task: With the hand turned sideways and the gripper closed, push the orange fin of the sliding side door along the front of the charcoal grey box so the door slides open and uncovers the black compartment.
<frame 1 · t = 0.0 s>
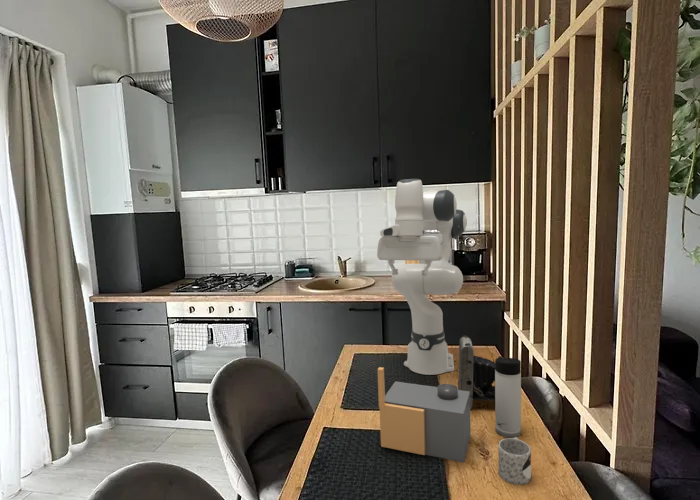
hand: (409, 275, 127), 39 cm above the table, fingers open, 8 cm apart
housing: (427, 440, 105), on the table
vintage camera: (485, 404, 123), on the table
travel mug: (508, 432, 107), on the table
mug: (514, 471, 92), on the table
side door: (401, 410, 99), point 11 cm above the table, slide at 0.0 cm
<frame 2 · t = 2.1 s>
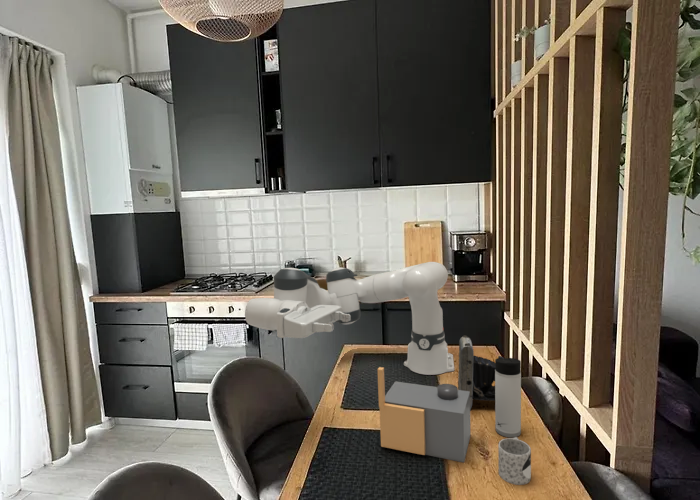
hand: (341, 322, 104), 31 cm above the table, fingers open, 8 cm apart
nothing on the table moved.
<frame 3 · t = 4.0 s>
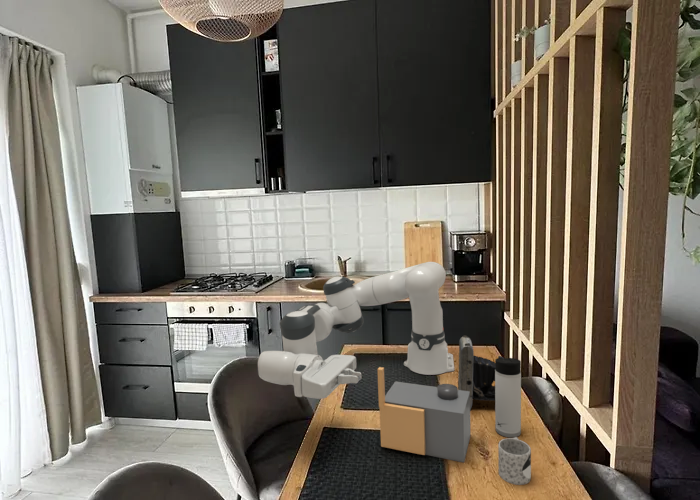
hand: (359, 378, 103), 18 cm above the table, fingers closed
nothing on the table moved.
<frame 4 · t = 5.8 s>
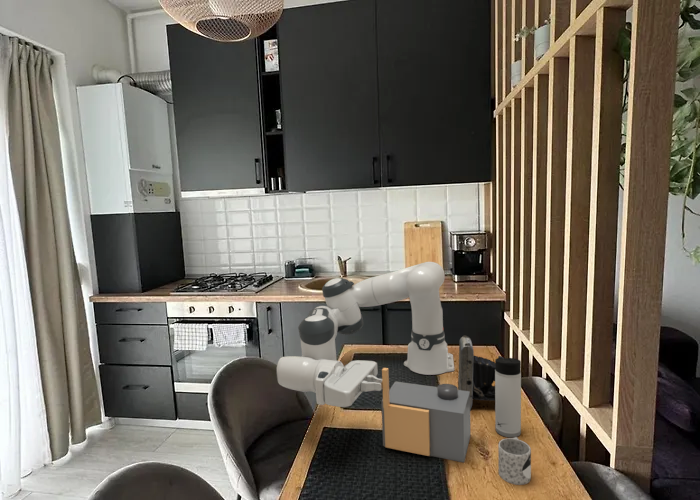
hand: (382, 385, 100), 17 cm above the table, fingers closed, pressing on side door
side door: (405, 411, 98), point 11 cm above the table, slide at 1.2 cm, touching gripper
everything else where it was.
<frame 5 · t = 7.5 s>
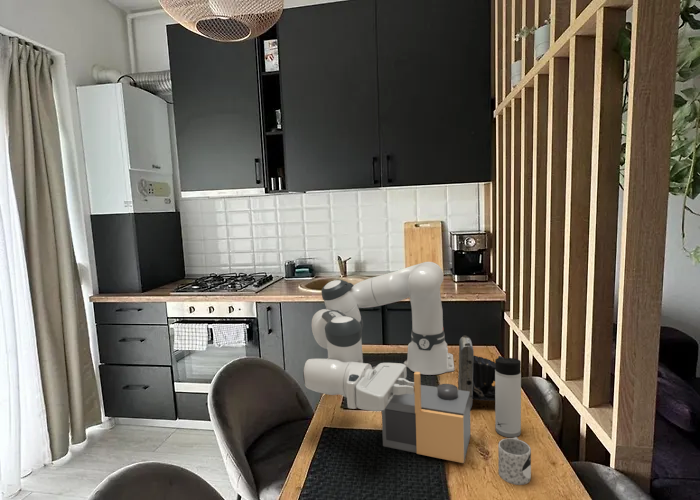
hand: (415, 388, 97), 17 cm above the table, fingers closed, pressing on side door
side door: (438, 417, 95), point 11 cm above the table, slide at 9.1 cm, touching gripper
everything else where it was.
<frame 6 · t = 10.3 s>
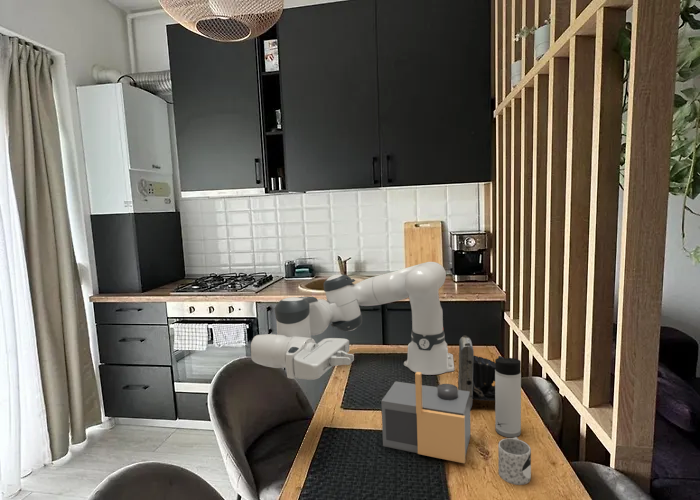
hand: (351, 359, 103), 22 cm above the table, fingers closed
side door: (440, 417, 95), point 11 cm above the table, slide at 9.4 cm
everything else where it was.
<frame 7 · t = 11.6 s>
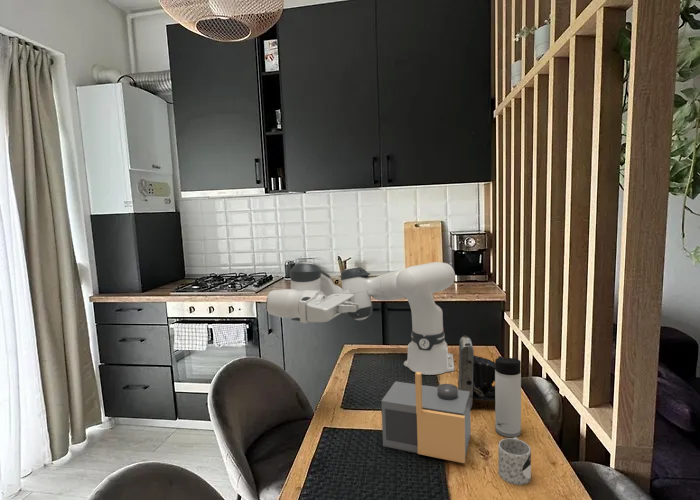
hand: (357, 307, 116), 32 cm above the table, fingers closed
nothing on the table moved.
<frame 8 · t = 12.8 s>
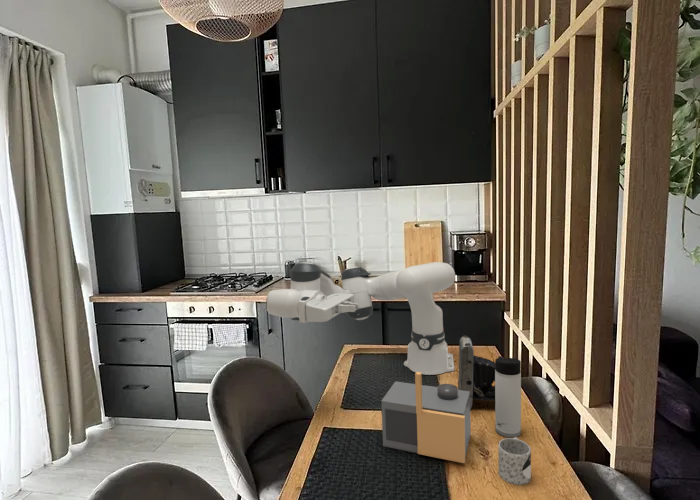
hand: (356, 307, 116), 32 cm above the table, fingers closed
nothing on the table moved.
at the end: side door slide at 9.4 cm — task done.
